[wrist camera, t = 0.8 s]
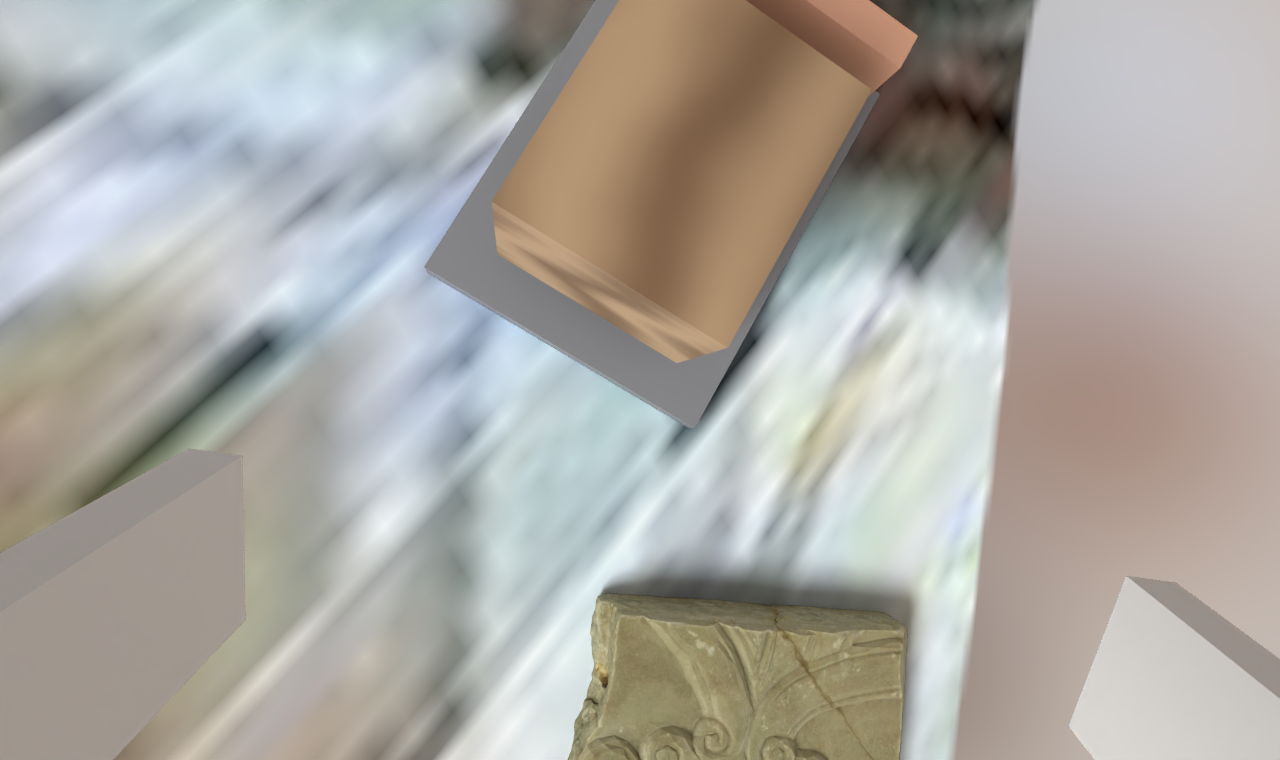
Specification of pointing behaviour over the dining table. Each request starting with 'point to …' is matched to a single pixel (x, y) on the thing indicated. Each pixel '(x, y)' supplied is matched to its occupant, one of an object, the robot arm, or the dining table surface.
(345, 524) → the dining table surface
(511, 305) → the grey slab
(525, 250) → the oak block
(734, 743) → the decorative tile
